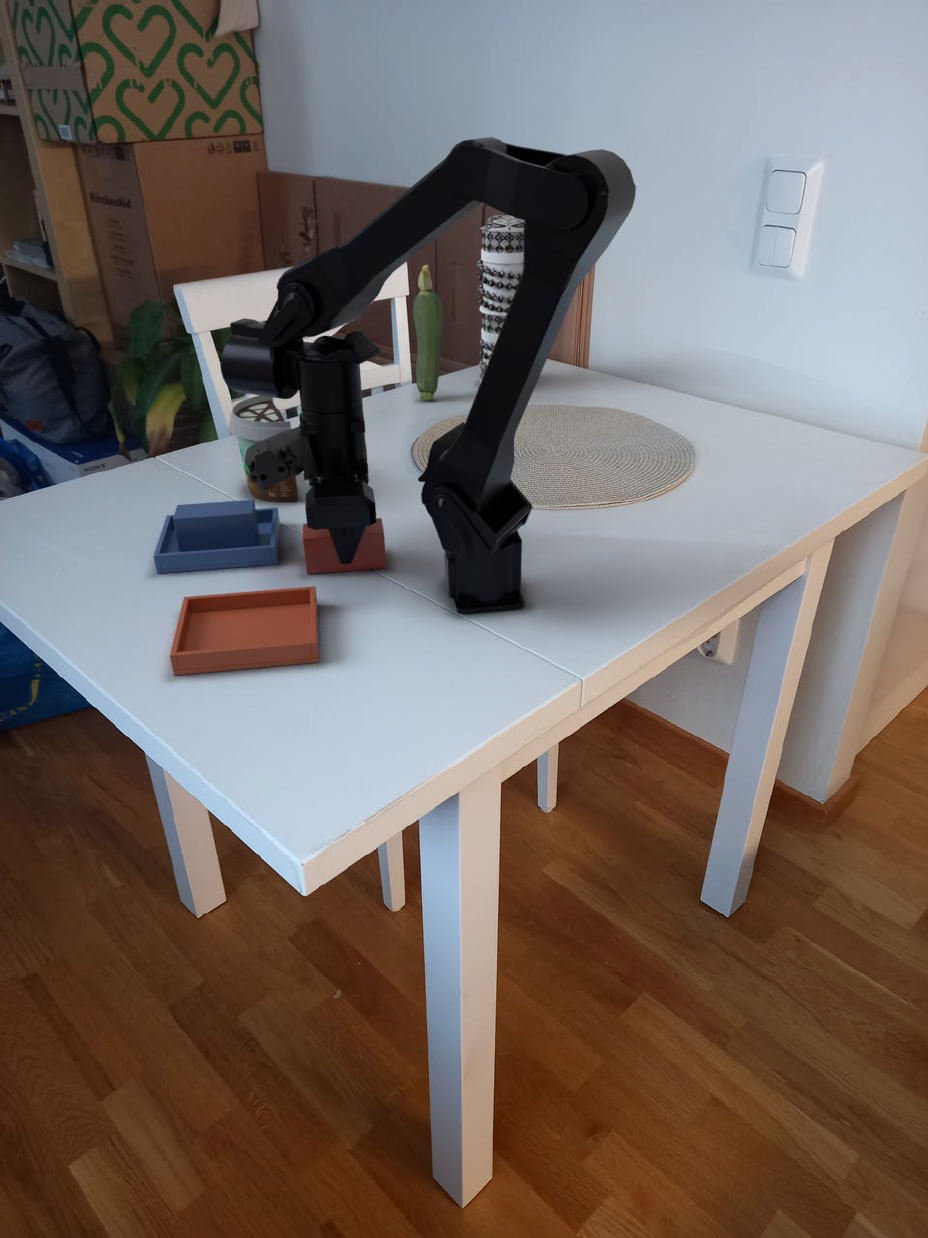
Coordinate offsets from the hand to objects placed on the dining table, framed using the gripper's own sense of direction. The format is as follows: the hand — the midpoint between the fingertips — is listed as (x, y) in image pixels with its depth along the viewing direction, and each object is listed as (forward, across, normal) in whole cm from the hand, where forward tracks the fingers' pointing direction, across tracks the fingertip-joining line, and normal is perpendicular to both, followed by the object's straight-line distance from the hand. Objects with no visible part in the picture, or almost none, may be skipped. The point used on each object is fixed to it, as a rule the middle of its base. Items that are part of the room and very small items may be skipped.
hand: (345, 554), depth 91 cm
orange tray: (+1, +13, -9) cm, 16 cm away
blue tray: (+1, -6, -13) cm, 14 cm away
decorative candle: (+1, -59, +28) cm, 65 cm away
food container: (+1, -21, -9) cm, 23 cm away
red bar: (+1, 0, 0) cm, 1 cm away
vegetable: (+1, -53, +15) cm, 55 cm away
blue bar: (0, -6, -13) cm, 14 cm away
